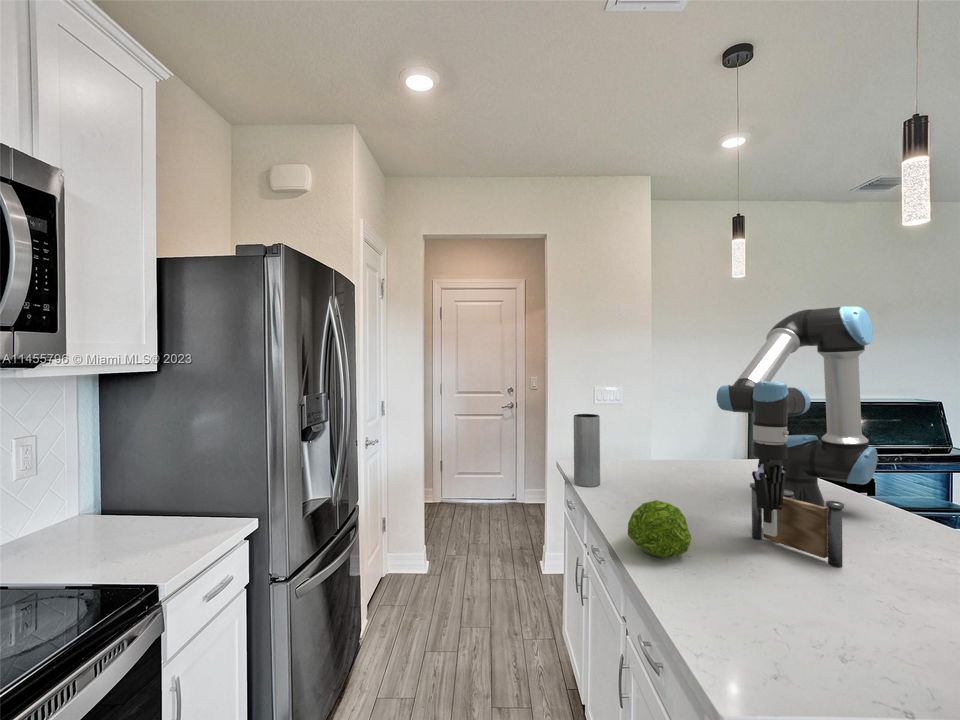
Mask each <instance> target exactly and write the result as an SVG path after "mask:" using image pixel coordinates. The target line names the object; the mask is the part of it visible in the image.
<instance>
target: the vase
mask: <svg viewBox="0 0 960 720" xmlns="http://www.w3.org/2000/svg"><path fill="white" fill-rule="evenodd" d="M600 420H601V418H600V415H599V414H593V413H576V414H574V415H573V483H574V485H575V486H577V487H584V488H596V487H598V486H600V485H601V453H600V452H601V440H600V439H601V435H600V434H601V430H600V429H601V428H600V427H601V421H600Z"/></svg>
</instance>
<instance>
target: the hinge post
mask: <svg viewBox="0 0 960 720" xmlns="http://www.w3.org/2000/svg"><path fill="white" fill-rule="evenodd" d="M825 507H827V508H828V557H827V565H829V566H830V567H832V568H843V564H844V563H843V510H844V509H845V503H843V502H842V501H841V502H840V501H836V500H827V501H826V500H825Z"/></svg>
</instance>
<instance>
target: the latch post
mask: <svg viewBox="0 0 960 720" xmlns="http://www.w3.org/2000/svg"><path fill="white" fill-rule="evenodd" d="M749 488H751V539H753V540H755V541H756V540H757V541H762V540H763V508H759V507H758V504H757V497H756V489H755V482H751V483H749Z"/></svg>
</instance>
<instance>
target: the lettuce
mask: <svg viewBox="0 0 960 720" xmlns="http://www.w3.org/2000/svg"><path fill="white" fill-rule="evenodd" d="M627 524H628V525H627V536H628V537H629V538H630V539H631V540H632V541H633V542H634V544H636V546H638V547H639V548H640V549H641V550H642V551H643V552H644V553H647V554H649V555H652V556H653V557H657V558H664V559H671V558H675V557H678V556H680V555H682V554H684V553H686V552H688V550H689V546H690V545H691V542H692V535H691V533H690V530H689V527H688V523H687V518H686V517H685V515H684V514H683V512H682V511H681V509H680V508H679V507H677V506H675V505H673V504H671V503H670V502H666V501H662V500H657V499H656V500H651V501H648V502H643V503H641V505H639V506H638V507H637V508H636V509H635V510H633V512H632V514H631V516H630V518H629V520H628V523H627Z"/></svg>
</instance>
